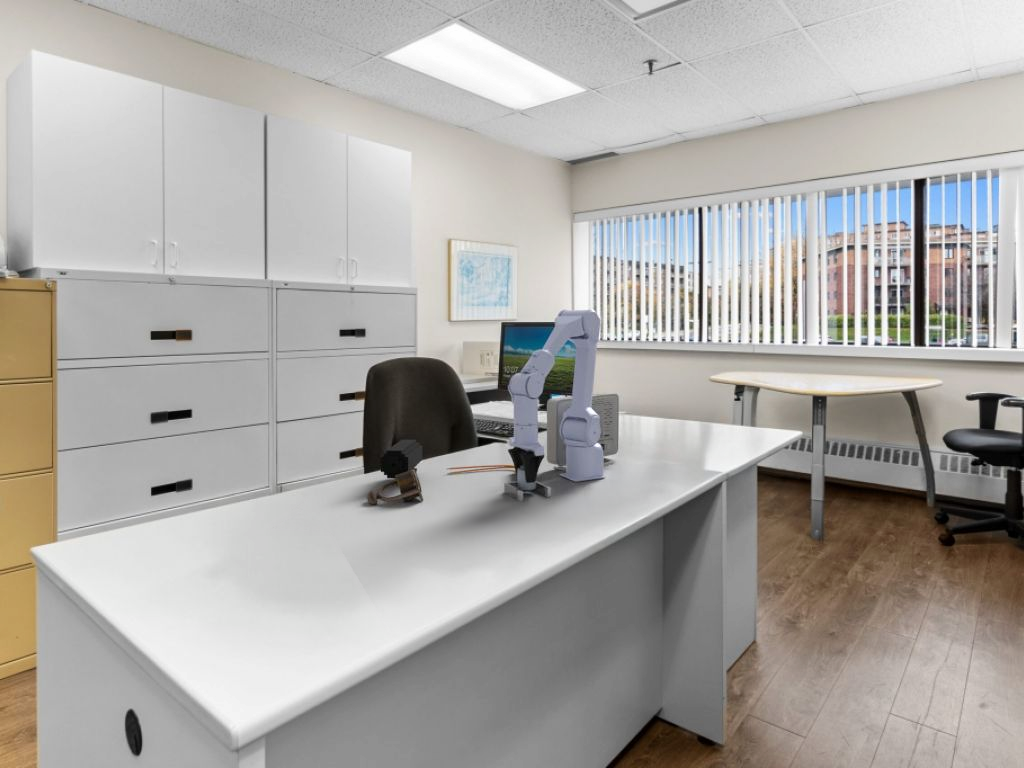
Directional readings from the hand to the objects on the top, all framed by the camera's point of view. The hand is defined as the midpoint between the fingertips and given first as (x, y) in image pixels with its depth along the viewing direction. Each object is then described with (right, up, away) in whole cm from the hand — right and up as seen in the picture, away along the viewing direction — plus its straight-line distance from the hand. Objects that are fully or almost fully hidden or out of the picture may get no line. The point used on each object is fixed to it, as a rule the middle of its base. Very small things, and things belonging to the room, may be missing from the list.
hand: (526, 479), depth 151 cm
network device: (+17, -1, +31) cm, 35 cm away
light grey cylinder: (0, -2, 0) cm, 2 cm away
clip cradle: (0, -3, 0) cm, 3 cm away
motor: (-9, -2, +15) cm, 17 cm away
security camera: (-31, -3, +13) cm, 34 cm away
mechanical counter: (-30, -4, -4) cm, 31 cm away
